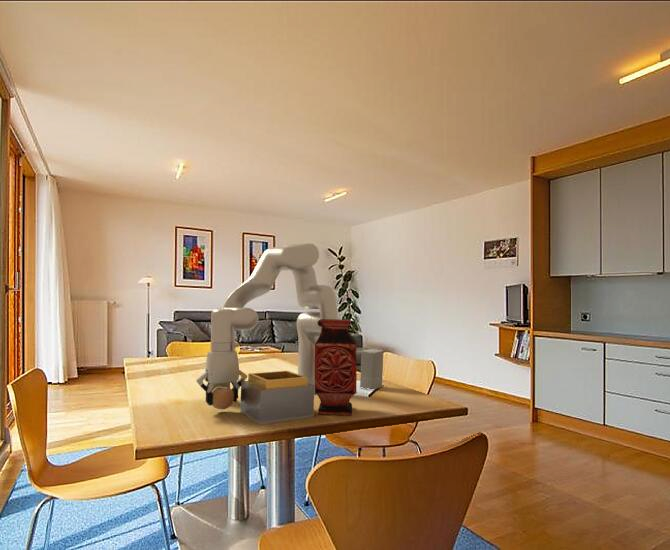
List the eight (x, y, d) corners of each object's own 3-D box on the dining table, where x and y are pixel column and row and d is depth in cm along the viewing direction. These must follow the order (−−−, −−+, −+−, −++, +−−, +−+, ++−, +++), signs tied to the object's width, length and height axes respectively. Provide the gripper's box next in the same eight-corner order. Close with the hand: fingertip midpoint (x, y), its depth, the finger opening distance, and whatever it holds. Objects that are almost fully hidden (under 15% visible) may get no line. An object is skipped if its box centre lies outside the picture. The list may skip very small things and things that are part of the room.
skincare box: (369, 385, 194) (370, 348, 195) (384, 387, 190) (384, 349, 190) (358, 388, 187) (359, 350, 188) (373, 390, 183) (374, 351, 184)
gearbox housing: (290, 405, 154) (291, 369, 155) (313, 416, 141) (314, 377, 142) (240, 412, 145) (241, 373, 145) (259, 424, 131) (261, 381, 132)
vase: (316, 405, 156) (318, 318, 158) (355, 406, 156) (357, 319, 157) (312, 416, 142) (315, 320, 144) (356, 417, 142) (358, 321, 143)
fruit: (205, 410, 142) (205, 384, 142) (218, 404, 149) (219, 380, 149) (225, 412, 139) (225, 386, 139) (238, 406, 146) (238, 382, 146)
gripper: (244, 344, 152) (243, 397, 152) (192, 347, 143) (191, 403, 143) (252, 346, 146) (252, 401, 146) (198, 350, 137) (198, 409, 136)
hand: (222, 402), depth 144 cm, fingers closed on fruit, 7 cm apart
